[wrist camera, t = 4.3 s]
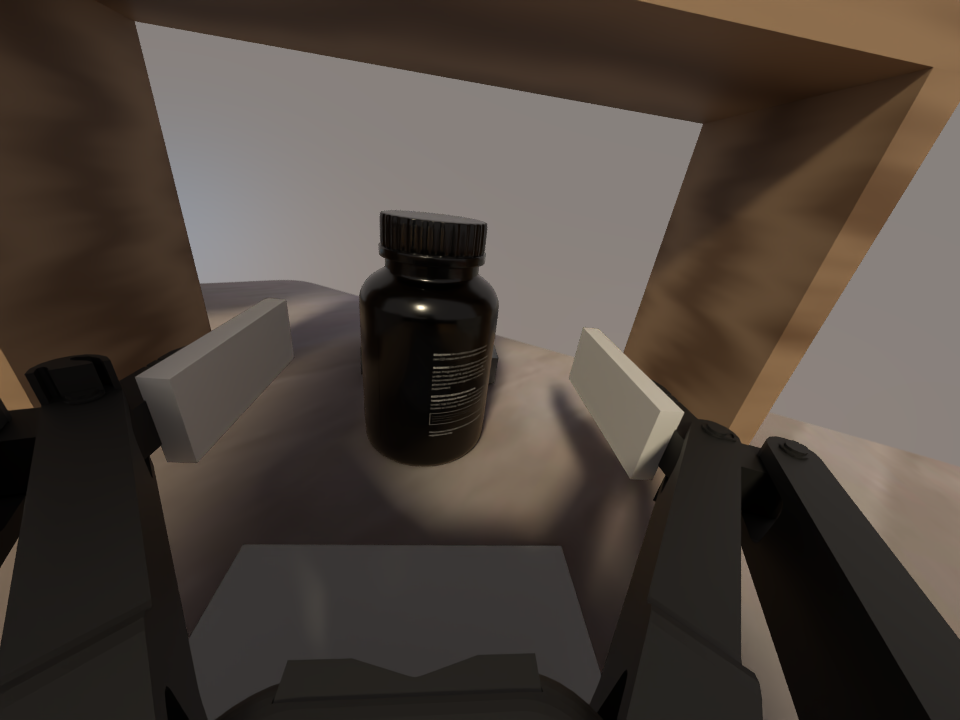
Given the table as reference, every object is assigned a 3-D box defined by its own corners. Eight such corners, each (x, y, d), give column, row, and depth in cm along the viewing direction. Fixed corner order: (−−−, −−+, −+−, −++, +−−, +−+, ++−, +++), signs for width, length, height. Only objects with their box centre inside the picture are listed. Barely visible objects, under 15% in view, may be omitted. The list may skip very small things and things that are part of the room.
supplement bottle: (477, 402, 24) (504, 219, 18) (483, 475, 18) (526, 234, 12) (378, 394, 23) (375, 202, 18) (349, 468, 17) (332, 210, 12)
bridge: (712, 503, 18) (1016, 7, 9) (38, 488, 14) (-525, -399, 5) (625, 398, 27) (740, 94, 18) (197, 371, 23) (82, -34, 14)
